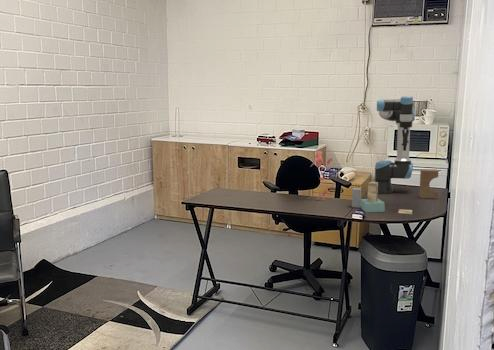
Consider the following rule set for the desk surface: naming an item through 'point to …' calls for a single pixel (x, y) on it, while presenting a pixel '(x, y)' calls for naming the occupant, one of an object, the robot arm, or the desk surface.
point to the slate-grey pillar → (356, 197)
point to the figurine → (318, 162)
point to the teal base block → (372, 206)
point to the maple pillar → (372, 192)
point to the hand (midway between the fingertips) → (404, 154)
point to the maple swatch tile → (405, 211)
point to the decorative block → (427, 183)
